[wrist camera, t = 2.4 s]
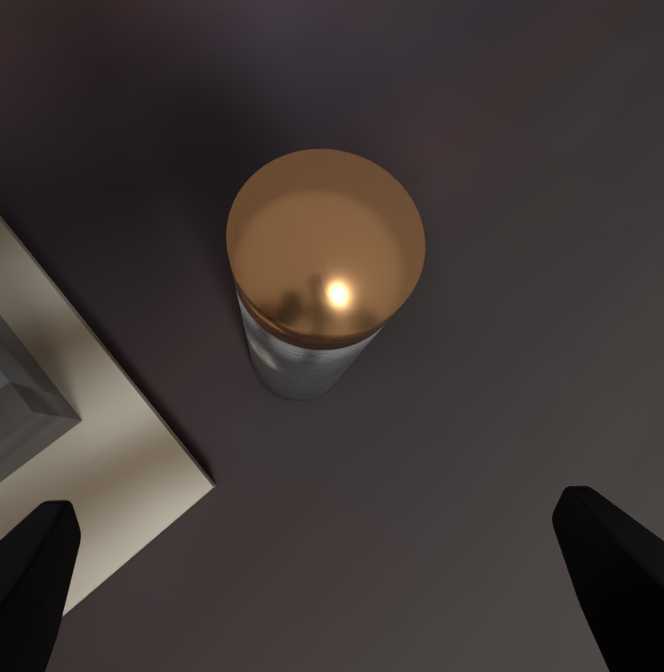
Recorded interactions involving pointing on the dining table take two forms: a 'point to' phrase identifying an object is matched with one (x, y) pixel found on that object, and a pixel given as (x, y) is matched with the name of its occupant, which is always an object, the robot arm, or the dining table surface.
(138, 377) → the dining table surface
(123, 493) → the block
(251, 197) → the pin
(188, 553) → the dining table surface
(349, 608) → the dining table surface
